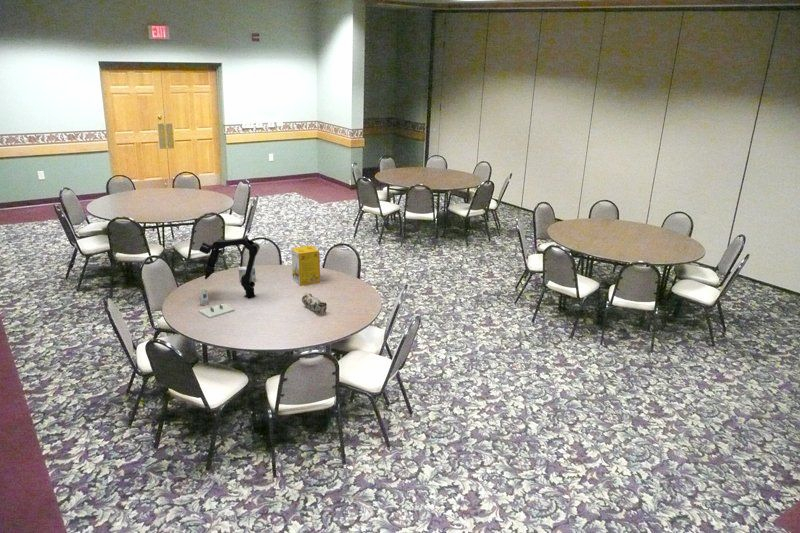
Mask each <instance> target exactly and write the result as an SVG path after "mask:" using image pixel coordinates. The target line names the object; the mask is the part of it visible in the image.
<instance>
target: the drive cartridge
mask: <svg viewBox="0 0 800 533" xmlns="http://www.w3.org/2000/svg"><path fill="white" fill-rule="evenodd" d="M198 293H199V302H200V305H201V306H203V307H204V306H206V305H209V298H208V297H209V295H208V290H207V289H205V288H204V289H199V290H198Z"/></svg>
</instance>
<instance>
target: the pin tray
mask: <svg viewBox="0 0 800 533" xmlns="http://www.w3.org/2000/svg"><path fill="white" fill-rule="evenodd" d="M235 310H236V309H234V308H233V307H231V306H229V305H227V304H226V303H221V304H218V305H217V304H216V305H213V306H210V307H207V308H203V309H200V310H198V313H200V314H201V315H203V316H204V317H206V318H208V319H213V318H215V317H218V316H222V315H225V314H229V313H233V312H235Z"/></svg>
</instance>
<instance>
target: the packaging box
mask: <svg viewBox="0 0 800 533" xmlns="http://www.w3.org/2000/svg"><path fill="white" fill-rule="evenodd" d="M290 251H291V252H290V253H291V266H292V267H291V269H292V270H291V272H292V274H291V275H292V280H293V281H294V282H295V283H296V284H297V285H298V286H300V287H301V286H306V285H313V284H320V283H321V266H320V265H321V264H320V261H321V260H320V259H321V258H320V251H319V249H317V248H316V247H314V246H313V245H303V246H297V247H291V249H290Z"/></svg>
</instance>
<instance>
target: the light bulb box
mask: <svg viewBox="0 0 800 533" xmlns="http://www.w3.org/2000/svg"><path fill="white" fill-rule="evenodd" d="M246 269H247V266H240V267H239V268H238V278H239V283H241V278H242V276H243V275H244V274H245V273H246ZM251 275H252V281H253V282H254V283H255V282H256V280H257V279H256V278H257V276H256V267H255V266H253V270H252V274H251Z"/></svg>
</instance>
